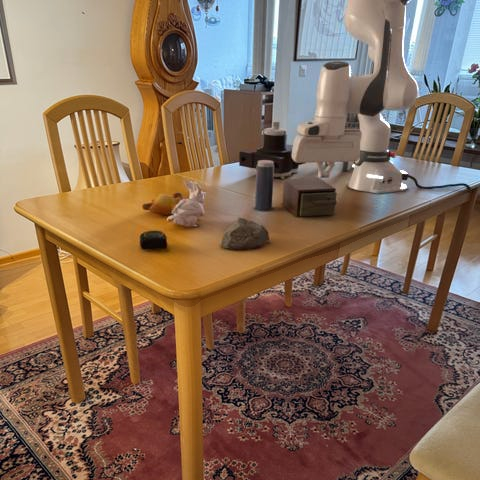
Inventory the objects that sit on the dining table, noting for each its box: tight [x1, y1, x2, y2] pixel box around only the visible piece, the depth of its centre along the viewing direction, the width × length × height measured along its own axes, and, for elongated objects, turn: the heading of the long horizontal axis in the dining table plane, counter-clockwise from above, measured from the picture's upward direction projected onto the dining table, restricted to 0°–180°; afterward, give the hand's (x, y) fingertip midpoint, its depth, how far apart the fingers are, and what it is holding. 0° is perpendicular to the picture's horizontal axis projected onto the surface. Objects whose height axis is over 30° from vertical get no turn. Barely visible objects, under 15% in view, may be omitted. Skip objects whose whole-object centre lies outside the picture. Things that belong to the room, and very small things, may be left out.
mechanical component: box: [238, 121, 306, 180], centre depth 191 cm, size 22×21×30 cm
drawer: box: [299, 191, 338, 217], centre depth 144 cm, size 18×11×7 cm, turn 14°
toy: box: [141, 192, 183, 216], centre depth 144 cm, size 11×6×15 cm
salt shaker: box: [254, 160, 275, 212], centre depth 147 cm, size 6×6×15 cm
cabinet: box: [282, 177, 337, 218], centre depth 149 cm, size 14×12×8 cm
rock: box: [221, 216, 270, 251], centre depth 120 cm, size 13×9×6 cm, turn 131°
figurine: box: [166, 178, 207, 227], centre depth 132 cm, size 8×15×13 cm, turn 145°
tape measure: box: [139, 229, 168, 251], centre depth 117 cm, size 7×7×4 cm
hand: (323, 177), depth 135 cm, fingers closed
